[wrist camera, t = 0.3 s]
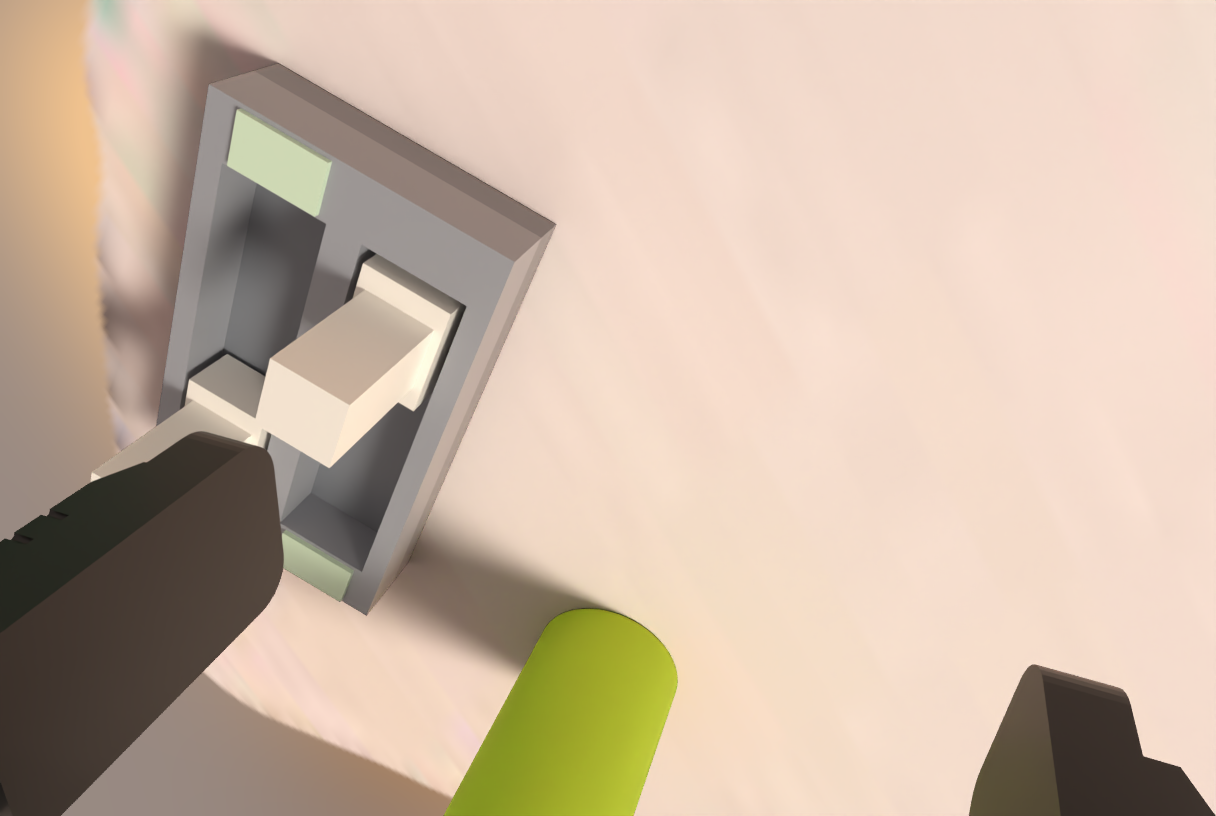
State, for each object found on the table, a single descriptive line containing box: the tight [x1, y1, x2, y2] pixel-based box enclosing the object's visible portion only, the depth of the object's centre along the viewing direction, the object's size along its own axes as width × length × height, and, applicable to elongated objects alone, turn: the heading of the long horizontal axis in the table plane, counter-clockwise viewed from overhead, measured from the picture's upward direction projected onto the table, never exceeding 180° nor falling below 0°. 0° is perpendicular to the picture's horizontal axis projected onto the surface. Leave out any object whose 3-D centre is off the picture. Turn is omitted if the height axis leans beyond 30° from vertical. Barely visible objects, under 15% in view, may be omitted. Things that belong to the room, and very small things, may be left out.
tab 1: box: [91, 354, 271, 482], centre depth 31 cm, size 4×3×7 cm
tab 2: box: [254, 254, 467, 468], centre depth 27 cm, size 4×3×7 cm
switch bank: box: [156, 64, 556, 616], centre depth 32 cm, size 17×10×3 cm, turn 155°
